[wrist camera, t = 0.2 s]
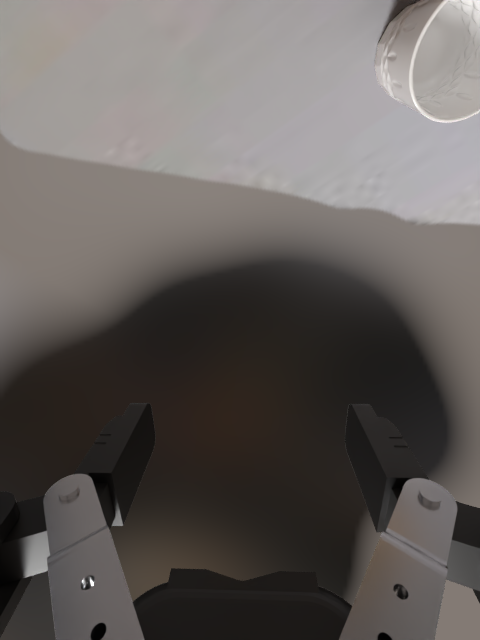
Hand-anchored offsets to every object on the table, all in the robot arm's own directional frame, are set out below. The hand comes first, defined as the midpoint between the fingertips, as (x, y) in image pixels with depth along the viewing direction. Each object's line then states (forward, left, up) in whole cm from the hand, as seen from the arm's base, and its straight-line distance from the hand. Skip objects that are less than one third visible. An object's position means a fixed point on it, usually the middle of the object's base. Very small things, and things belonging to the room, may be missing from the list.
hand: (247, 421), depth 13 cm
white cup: (+3, +19, -31) cm, 36 cm away
